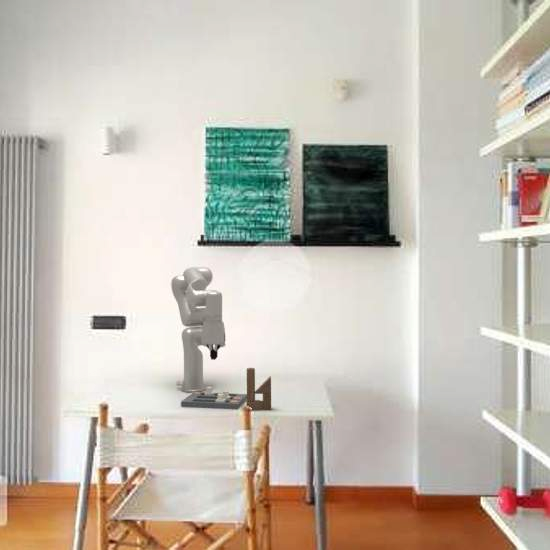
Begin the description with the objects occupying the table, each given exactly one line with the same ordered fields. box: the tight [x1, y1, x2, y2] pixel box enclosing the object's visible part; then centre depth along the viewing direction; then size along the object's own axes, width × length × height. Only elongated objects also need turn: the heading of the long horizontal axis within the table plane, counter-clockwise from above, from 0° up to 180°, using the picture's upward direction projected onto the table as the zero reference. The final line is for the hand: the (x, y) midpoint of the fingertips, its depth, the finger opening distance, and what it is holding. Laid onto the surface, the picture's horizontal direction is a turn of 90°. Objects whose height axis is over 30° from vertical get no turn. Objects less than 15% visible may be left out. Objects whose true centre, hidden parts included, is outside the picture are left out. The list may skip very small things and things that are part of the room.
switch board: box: [180, 391, 247, 410], centre depth 255 cm, size 26×18×3 cm
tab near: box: [215, 394, 226, 403], centre depth 249 cm, size 4×3×4 cm
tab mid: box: [221, 389, 231, 399], centre depth 254 cm, size 4×3×4 cm
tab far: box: [204, 386, 216, 395], centre depth 262 cm, size 4×3×4 cm
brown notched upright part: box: [245, 367, 272, 411], centre depth 244 cm, size 4×11×18 cm, turn 94°
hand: (213, 359), depth 254 cm, fingers closed
